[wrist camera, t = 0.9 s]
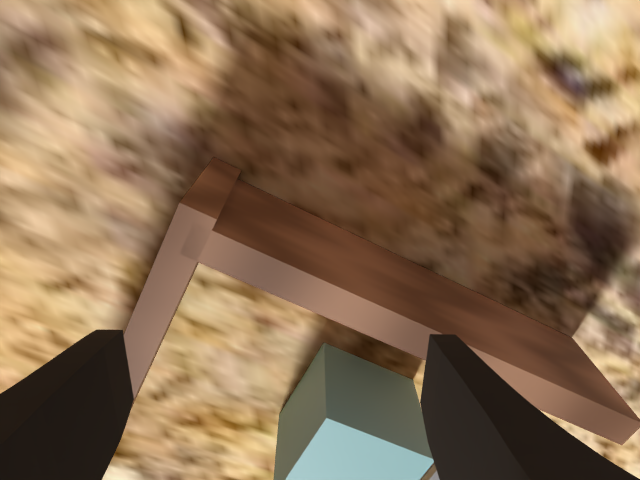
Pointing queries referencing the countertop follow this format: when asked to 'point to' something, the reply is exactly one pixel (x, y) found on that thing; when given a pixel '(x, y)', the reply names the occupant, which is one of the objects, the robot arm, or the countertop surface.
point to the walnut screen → (360, 297)
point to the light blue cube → (351, 423)
